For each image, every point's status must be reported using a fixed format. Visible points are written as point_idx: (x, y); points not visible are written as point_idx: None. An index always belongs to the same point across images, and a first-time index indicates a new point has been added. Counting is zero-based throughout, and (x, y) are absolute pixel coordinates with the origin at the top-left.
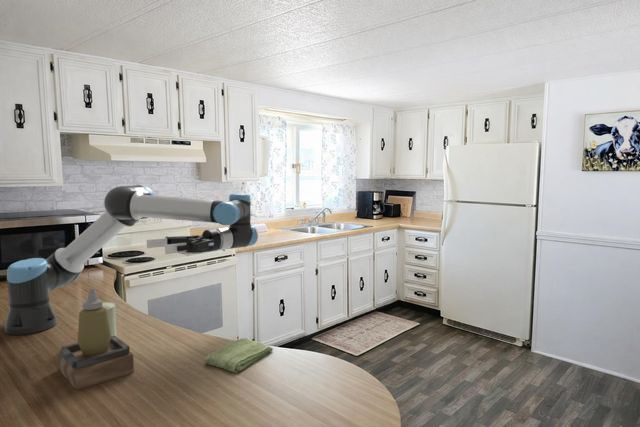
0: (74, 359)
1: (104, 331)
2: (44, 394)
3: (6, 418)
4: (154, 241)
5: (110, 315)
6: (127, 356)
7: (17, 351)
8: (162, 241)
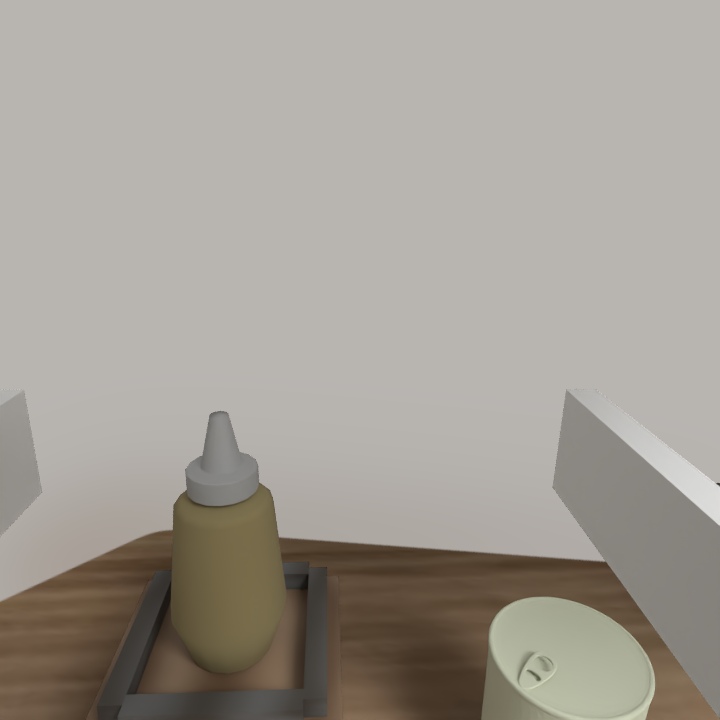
0: None
1: (172, 583)
2: None
3: (169, 530)
4: (603, 458)
5: (505, 712)
6: (88, 716)
7: (562, 576)
8: (677, 550)
